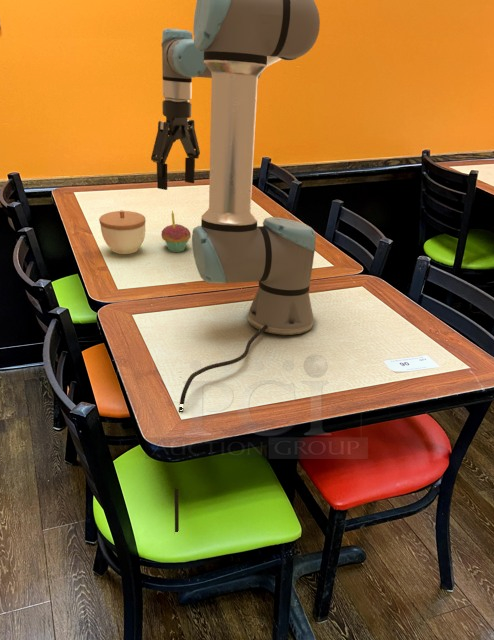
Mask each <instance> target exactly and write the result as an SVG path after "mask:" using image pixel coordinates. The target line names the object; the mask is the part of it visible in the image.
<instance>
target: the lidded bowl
mask: <svg viewBox="0 0 494 640" xmlns="http://www.w3.org/2000/svg"><path fill="white" fill-rule="evenodd" d="M98 221H99V224H100V231H101V235H102V237H103V238H102V239H103V241H104V242H105V244H106V245H107V247H109V248H110V250H112V252H113V253H116V254H119V255H130V254H134V253H136V252H137V251H138V250H139V248H141V246H142V245H143V244H144V241H145V238H146V216H145V215H143V214H142V213H139V212H136V211H132V210H131V211H130V210H121V209H120V210H116V211H115V210H114V211H110V212H107V213H104V214H101V215H100V217H99V219H98Z"/></svg>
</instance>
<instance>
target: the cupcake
mask: <svg viewBox="0 0 494 640" xmlns="http://www.w3.org/2000/svg"><path fill="white" fill-rule="evenodd" d="M171 222H172V223H171V224H170V225H166V226H165V227H164V228H163V229H161V238H162V240H163V241H165V244H166V246H167V249H168V251H170V252H173V253H175V252H176V253H180V252H183V251H185V250H186V246H187V244H188V241H189V240H190V239H191V238H192V235H191V231H190V230H189V228H187V227H186V226H184V225H182V224H178V223H175V222H176V221H175V213H174V211H173V210H171Z"/></svg>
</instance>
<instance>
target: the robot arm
mask: <svg viewBox="0 0 494 640" xmlns="http://www.w3.org/2000/svg"><path fill="white" fill-rule="evenodd" d="M193 16H194V17H193V27H192V28H193V32H191V30H187V29H177V28H164V29H163V31H162V38H161V42H160V43H161V45H160V46H161V52H162V54H161V61H162V62H161V63H162V65H161V67H162V70H161V71H162V73H161V74H162V97H163V98H164V99H163V101H162V102H161V103H162V104H161V105H162V115H163V116H164V117H165V121H162V120H159V121H158V122H157V132H156V136H155V140H154V144H153V148H152V152H151V156H150V160H151V162H153V163H156V176H157V177H156V179H157V181H156V182H157V183H156V185H157V189H159V190H164V191H167V190H168V163H166V162H167V160H168V157H169V154H170V152H171V151H172V147H173V144H174V143H175V142H176V141H178V140H179V141H180V143H181V145H182V147H183V150H184V152H185V154H186V156H187V157H185V158H184V182H185V183H189V184H195V176H196V175H195V173H196V172H195V169H196V159H198V160H199V158H200V154H201V149H200V146H199V142H198V137H197V134H196V133H197V132H196V128H195V120H194V119H191V117H192V102H191V100H192V99H193V97H192V96H193V78H206V79H211V86H210V87H211V89H210V90H211V91H210V92H211V93H210V137H209V139H210V140H209V141H210V142H209V183H208V184H209V187H208V189H209V190H208V192H209V193H208V194H209V195H208V209H207V210H206V211H205V212H203V214H202V215H201V218H200V219H201V224H200V225H197V226H195V227H194V228H193V229H192V235H191V245H192V253H193V258H194V262H195V266H196V269H197V272H198V274H199V277H201V279H202V280H203V281H204V282H206V283H208V284H222V285H226V284H236V283H239V284H240V283H258V287H257V291H256V293H255V295H254V298H253V300H252V302H251V305H250V307H249V310H248V315H247V320H248V324H249V325H251V326H252V327H254V328H255V329H257V330H258V331H257V332H256V333H254V335H253V336H251V338H250V339H249V340H248V341H247V344H246V346H245V349H244V352H243V353H242V354H240V355H239V356H237V357H235V358H233V359H230V360H226V361H221V362H216V363H213V364H209V365H207V366H204V367H201V368H200V369H198V370H196V371H194V372H193V373H191V374H190V375H189V377H187V379H186V382H185V384H184V387H183V388H182V391H181V395H180V398H179V399H180V400H179V405H180V404H184V405H185V401H186V396H187V393H188V390H189V389H190V386H191V383H192V381H193V380H194V379H195V378H196V377H197V376H199V375H201V374H203V373H204V372H206V371H209V370H213V369H216V368H220V367H226V366H230V365H233V364H236V363H238V362H240V361H242V360H244V359H245V358H246V357H247V356H248V354H249V351H250V349H251V348H250V347H251V346H252V344H253V342H254V341H255V340H256V339H257V338H258V337H260V336H261V334H262V333H264V332H265V333H268V334H273V335H280V336H292V335H293V336H294V335H300V334H304V333H306V332H308V331H310V330H311V329H312V327H313V323H314V313H313V308H312V303H311V297H310V286H311V281H312V273H313V265H314V257H315V252H316V239H317V235H316V232H315V230H314V229H313V228H312V227H311V226H309V225H308V224H306V223H303V222H300V221H296V220H293V219H289V218H284V217H278V216H277V217H275V216H269V217H265V218H264V219H263V221H262V225H260V226H258V218H257V217H256V215H255V214H253V211H252V192H253V191H252V190H253V174H254V156H255V154H254V153H255V137H256V136H255V135H256V119H257V103H258V102H257V101H258V83H259V82H258V81H259V79H260V77H261V76H262V73H263V71H265V69H266V68H267V67H270V66H271V65H273V64H276V63H277V62H279V61H281V60H282V61H294V60H297V59H299V58H300V57H303V56H305V55H306V54H308V52H310V50H311V49H313V47H314V45H315V44H316V42H317V39H318V37H319V33H320V28H321V18H320V13H319V9H318V6H317V4H316V1H315V0H196V2H195V9H194V14H193ZM182 409H183V411H179V410H182ZM180 412H182V413H183V412H184V408H182V407H179V406H178V413H180ZM173 491H174V494H173V495H174V533H175V532H178V531H179V532H180V530H179V529H180V528H179V527H180V524H179V523H180V520H179V519H180V518H179V517H180V509H179V506H180V505H179V504H180V503H179V500H180V499H179V497H180V495H179V489H178V488H177V487H174V490H173Z"/></svg>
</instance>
